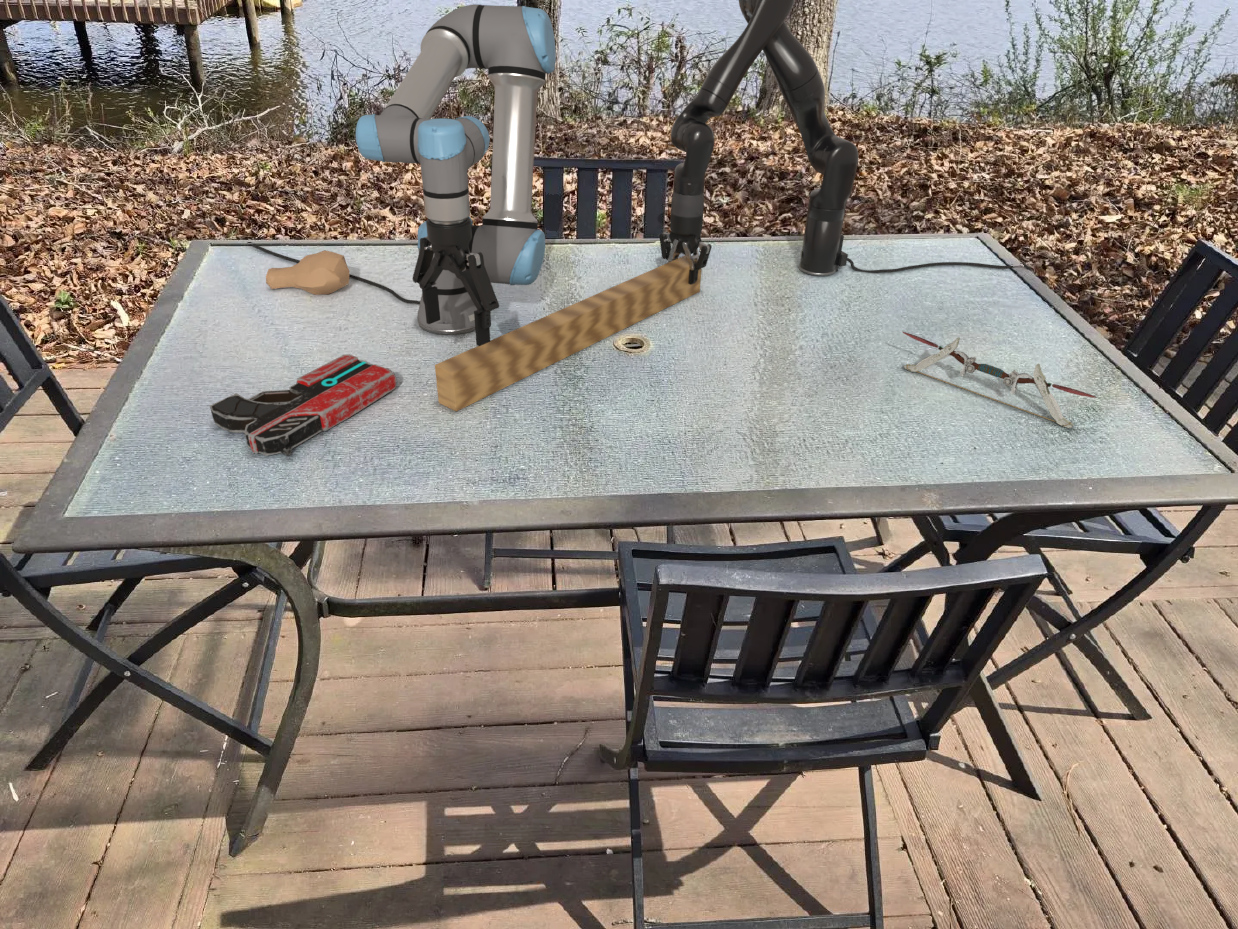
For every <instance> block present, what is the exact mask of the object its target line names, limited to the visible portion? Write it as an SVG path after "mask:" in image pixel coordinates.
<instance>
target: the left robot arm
mask: <svg viewBox="0 0 1238 929" xmlns="http://www.w3.org/2000/svg"><path fill="white" fill-rule="evenodd" d="M556 57H557V53H556V40H555V34H554V28H553V25H552V21H551V18H550V16H549V15H548V13H547V11H545V10H544V9H543V8H542V9H541V8H538V7H529V6H526V5H522V6H521V5H520V6H519V5H517V6H516V5H487V4H476V3H475V4H474V3H473V4H468V5H464V6H461V7H458V8H455V9H454V10H452V11H450V12H448V13H447V14H444V15H443V16H442V17H441V18H439V19H438V20H437V21H436V22H435V23H433V24H432V25H431V26H430V27H429V28H428V30H427V31H426V33H425V34H424V36H423V38H422V40H421V42H420V52H419V54H418V55H417V57H416V59H415V61H414V62H413V64H412V65H411V67H410V68H409V69H408V71H407V73H406V74H405V76H404V78H403V79H402V81H401V82H400V84H399V86H397V88H396V90H395V92H394V94H393V95H392V96H391V98H390V99H389V100H388V103H387V104H386V106H385V107H384V109H383V110H382V112H381V113H380V114H376V113H373V114H364V115H362V116H360V117H359V119H358V120H357V123H356V127H355V142H356V146H357V149H358V152H359V153H360V155H361V156H362V157H363V158H364V159H366V160H370V161H377V162H382V163H399V164H400V163H401V164H416V165H417V164H418V165H420V172H421V182H422V196H423V206H424V216H425V218H427V219H426V220H425V221H424V222H422V223H421V224H420V225H419V226H418V229H417V250H418V251H417V252H418V256H417V259H416V263H415V267H414V271H413V275H412V281H413V283H414V284H418V285H419V288H420V289H421V297H420V300H413V299H408V298H405V297H403V296H401V295H399V293H396V291H394V290H393V289H392V288H390V287H387V286H385V285H383V284H380V283H378V282H375V281H372V280H369V279H366V278H363V277H360V276H357V275H354V274H350V273H349V279H353V280H356V281H360V282H362V283H364V284H365V283H366V284H369V285H371V286H374V287H376V288H380V289H381V290H384V291H386V292H388V293H390V294H391V295H392V296H394V297H395V299H398V300H399V301H400V302H403V303H406V304H413V305H418V310H417V317H416V318H417V325H418V326H419V328H420V329H421V330H423V331H424V332H427V333H430V334H433V335H440V336H459V335H465V334H469V333H473V332H475V343H476V345H475V346H476V347H477V346H481V345H484V344H486V343H488V342H490V341H491V329H490V328H491V327H492V316H491V312H492V311H495V310H496V309H499V308H500V303H499V301H498V298H497V295H496V293H495V290H494V287H493V284H502V285H510V286H530V285H532V284H533V283H535V281H536V280H537V279H538V277H539V275H540V273H541V269H542V267H543V262H544V258H545V254H546V234H545V232H544V231H543V230H541V229H538V227H539V221H538V220H537V218H536V217H535V215H534V214H533V213H532V206H533V205H532V204H533V202H532V201H533V183H534V165H535V145H536V144H535V142H536V126H537V125H536V124H537V109H538V108H537V107H538V91H539V90H540V89H541V88H542V87H543V86H544V85H546V79H547V78H546V75H547V74H548V75H549V74H552V73H553V72H554V71H555V68H556V62H557V61H556V60H557V58H556ZM468 69H481V70H487V79H488V80H489V81H490V82H491V84H492V85H493V87H494V101H493V102H494V104H493V105H494V106H493V129H492V130H493V132H492V133H493V134H492V155H491V156H492V157H491V178H490V180H491V182H490V184H491V185H490V205H489V206H490V209H489V210H488V211H487V212H486V213H485V214H484V215H483V216H482V219H481V220H482V221H481V222H482V223H481V225H475V224H474V221H473V220H472V218H471V216H470V215H471V207H470V206H471V205H470V189H469V188H470V187H469V175H468V171H469V170H470V169H471V168H472V167H473V166H474V165H475V164H477V163H479V162H480V161H482V159H483V157H484V156H485V155H486V153H487V152H488V149H489V147H490V142H491V141H490V140H491V138H490V134H489V130H488V128H487V127H486V125H485V124H484V123H483V122H482V121H481V120H480V119H479V118H477V117H474V116H470V115H464V116H458V117H456V118H455V119H453V118H433V116H434V114H435V112H436V111H437V108H438V107H439V105H440V104H441V102H442V100H443V98H444V96H445V95H446V93H447V91H448V90H449V88H450V87H451V85H452V83H453V82H454V79H455V78H457V77H459V76H461V75H462V74H463V73H464V72H465V71H466V70H468ZM248 243H253V242H252V241H250V242H248V241H247V244H248ZM250 246H251V247H253V248H255V249H257V250H259V251H262V252H264V253H267V254H269V255H271V256H273V257H278V258H280V259H283V260H286V261H289V262H293V263H296V264H298V263H299V262H300V260H301V259H296V258H293V257H290V256H286V255H283V254H280V253H277V252H274V251H272V250H270V249H267V248H265V247H262V246H260V245H258V244H255V243H254V244H253V245H250Z"/></svg>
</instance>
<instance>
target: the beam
mask: <svg viewBox="0 0 1238 929" xmlns="http://www.w3.org/2000/svg"><path fill="white" fill-rule="evenodd" d="M702 269H703V268H701V269H699V270H698V280H697V281H696V282H695V283H694V284H692V285H691V284H688V280H689V270H690V266H689V262H688V261H687V259H686V255H683V256H681V257H680V256H679V257H678V259H676V260H673V261H671V262H669V263H668V262H666V263H664V264H662V265H659V266H658V267H657V266H656V267H655V268H653V269H651V270H648V271H646V272H643V273H641V274H639V275H636V276H634V277H631V278H630V279H628V280H625V281H623V282H620V283H619V284H616V285H613V286H612V287H609V288H607V289H605V290H603V291H600V292H598V293H596V294H593V295H591V296H589V297H586V298H584V299H581V300H579V301H578V302H575V303H572V304H570V305H569V306H566V307H564V308H562V309H561V308H560V309H559V310H557V311H555V312H552V313H550V314H548V315H546V316H543V317H541V318H539V319H537V320H533V321H531V322H529V323H527V324H525V325H523V326H520V327H518V328H516V329H513V330H511V331H510V332H507V333H504V334H502V335H500V336H498V337H495V338H493V339H490V342H488V343H486V344H484V345H481V346H477V345H476V346H474V347H472V348H470V349H468V350H466V351H463V352H461V353H459V354H456V355H454V356H452V357H450V358H447V359H445V360H442V361H440V362H438V363H436V364H434V371H435V380H436V381H435V382H436V391H437V400H438V404H440V405H442V406H444V407H446V408H448V409H450V410H451V411H454V412H459V411H461V410H463V409H464V408H466V407H469V406H470V405H473V404H475V403H477V402H480V401H481V400H483V399H485V398H487V397H489V396H491V395H493V394H495V393H497V392H499V391H502V390H503V389H505V388H507V387H509V386H511V385H513V384H515V383H517V382H520V381H521V380H523V379H525V378H528V377H530V376H531V375H534V374H535V373H538V372H539V371H542V370H544V369H546V368H548V367H550V366H552V365H554V364H556V363H558V362H560V361H562V360H564V359H567V358H569V357H570V356H572V355H574V354H577V353H579V352H580V351H583V350H585V349H586V348H588V347H590V346H594V344H597V343H598V342H601V341H602V340H604V339H606V338H609V337H611V336H613V335H614V334H617V333H619V332H621V331H623V330H625V329H627V328H629V327H631V326H633V325H635V324H637V323H639V322H641V321H643V320H645V319H648V318H650V317H651V316H653V315H656V314H658V313H659V312H661V311H664V310H665V309H667V308H670V307H672V306H673V305H676V304H678V303H680V302H682V301H684V300H686V299H688V298H690V297H692V296H694V295H696V294H699V293H700V292H701V281H702Z"/></svg>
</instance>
